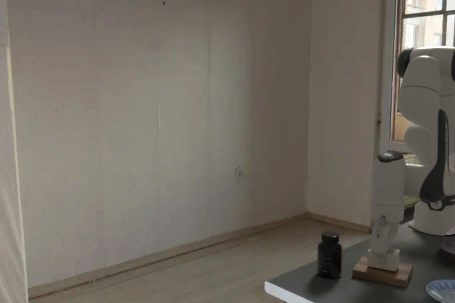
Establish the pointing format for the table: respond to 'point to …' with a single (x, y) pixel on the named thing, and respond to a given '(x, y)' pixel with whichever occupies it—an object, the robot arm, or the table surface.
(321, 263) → the supplement bottle
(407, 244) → the table surface
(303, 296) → the table surface
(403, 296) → the table surface
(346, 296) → the table surface
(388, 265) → the open rectangular brace
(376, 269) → the board
